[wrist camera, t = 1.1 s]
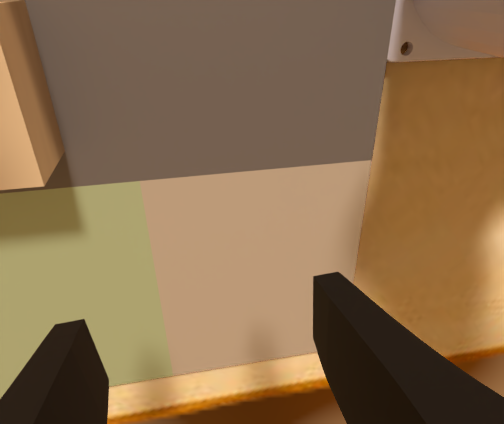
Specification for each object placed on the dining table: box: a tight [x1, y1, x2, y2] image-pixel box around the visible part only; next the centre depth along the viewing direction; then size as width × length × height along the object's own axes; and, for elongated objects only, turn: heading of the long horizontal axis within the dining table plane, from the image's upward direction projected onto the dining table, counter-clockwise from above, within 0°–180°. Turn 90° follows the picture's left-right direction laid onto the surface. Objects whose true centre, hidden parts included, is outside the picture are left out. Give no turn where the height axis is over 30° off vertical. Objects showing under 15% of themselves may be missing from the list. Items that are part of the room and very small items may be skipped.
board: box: [0, 0, 396, 399], centre depth 17 cm, size 20×22×1 cm
